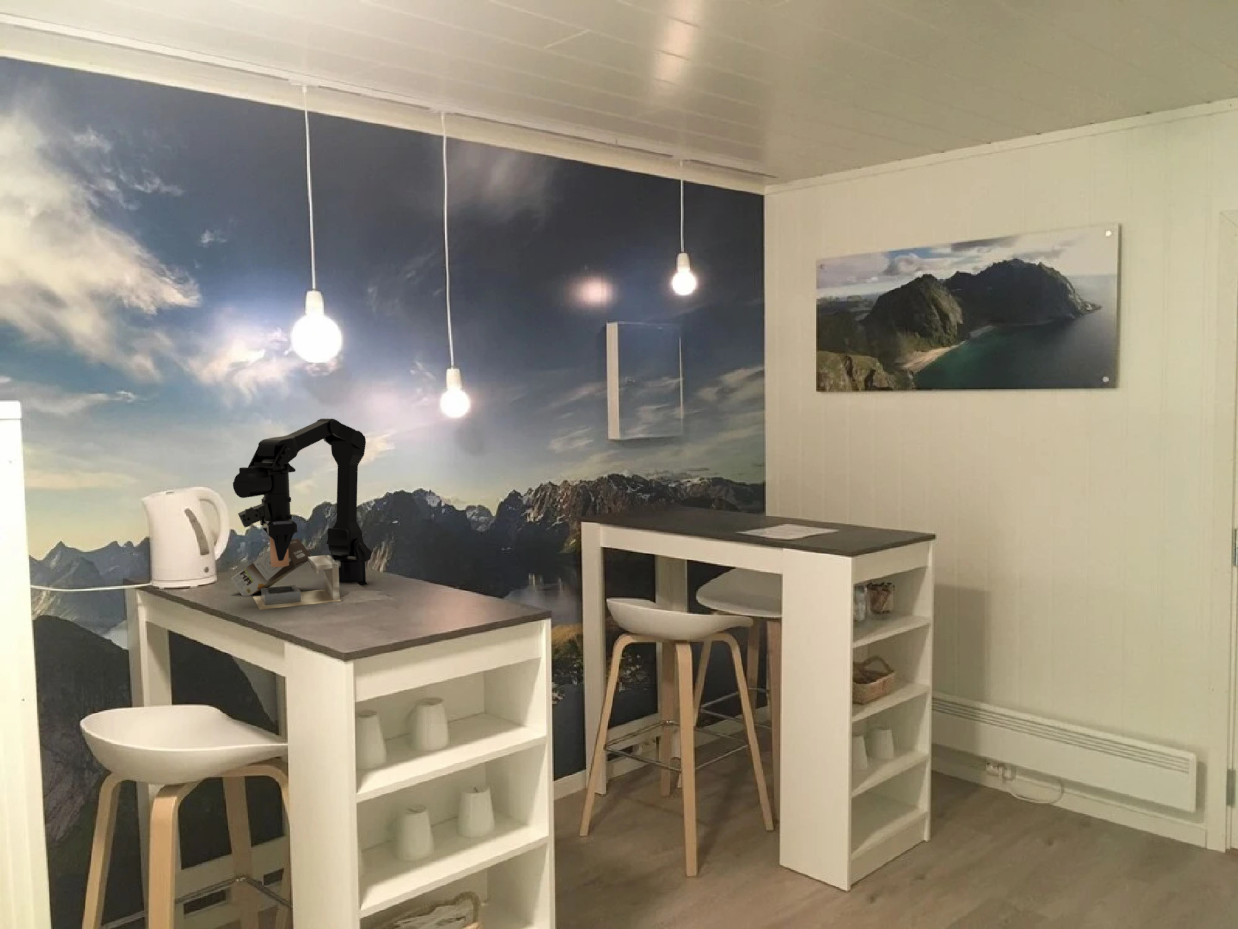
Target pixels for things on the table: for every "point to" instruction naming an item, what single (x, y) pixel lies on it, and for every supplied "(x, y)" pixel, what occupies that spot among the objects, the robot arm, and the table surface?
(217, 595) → the table surface
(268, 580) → the coffee box
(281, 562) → the peg
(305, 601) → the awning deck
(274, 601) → the socket
